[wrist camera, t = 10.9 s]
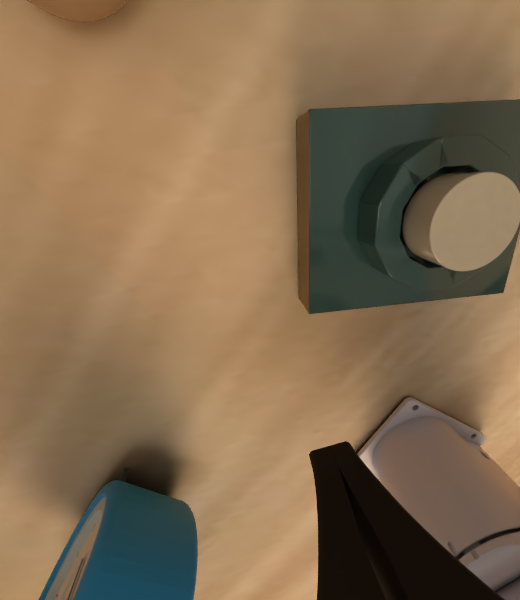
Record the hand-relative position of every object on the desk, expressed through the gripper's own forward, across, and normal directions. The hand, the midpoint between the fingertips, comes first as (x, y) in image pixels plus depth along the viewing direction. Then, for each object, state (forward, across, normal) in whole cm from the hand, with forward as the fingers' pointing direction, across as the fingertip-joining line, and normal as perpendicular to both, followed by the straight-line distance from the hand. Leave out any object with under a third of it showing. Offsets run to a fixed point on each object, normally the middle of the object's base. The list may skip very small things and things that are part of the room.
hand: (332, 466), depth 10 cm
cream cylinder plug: (+6, -9, -6) cm, 12 cm away
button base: (+10, -8, -6) cm, 15 cm away
